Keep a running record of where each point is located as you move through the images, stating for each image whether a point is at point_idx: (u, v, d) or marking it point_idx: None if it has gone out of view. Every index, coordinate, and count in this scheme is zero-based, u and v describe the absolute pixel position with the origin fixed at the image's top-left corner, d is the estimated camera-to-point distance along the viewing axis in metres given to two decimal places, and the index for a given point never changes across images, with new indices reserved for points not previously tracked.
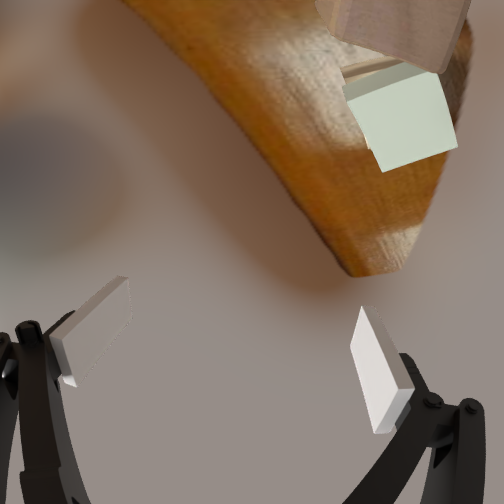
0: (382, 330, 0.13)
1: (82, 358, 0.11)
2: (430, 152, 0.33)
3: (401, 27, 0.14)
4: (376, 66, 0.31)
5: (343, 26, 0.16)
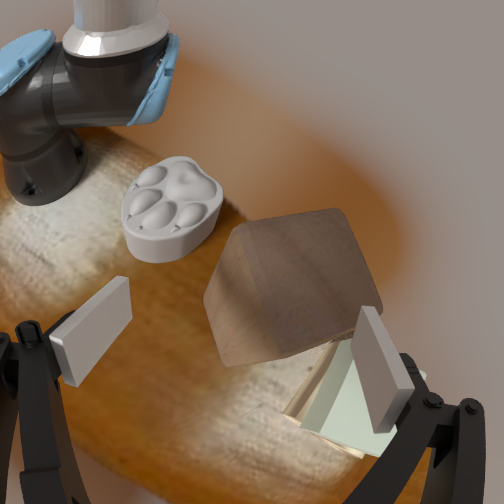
0: (382, 330, 0.13)
1: (82, 358, 0.11)
2: None
3: (327, 297, 0.20)
4: (311, 384, 0.34)
5: (283, 336, 0.18)
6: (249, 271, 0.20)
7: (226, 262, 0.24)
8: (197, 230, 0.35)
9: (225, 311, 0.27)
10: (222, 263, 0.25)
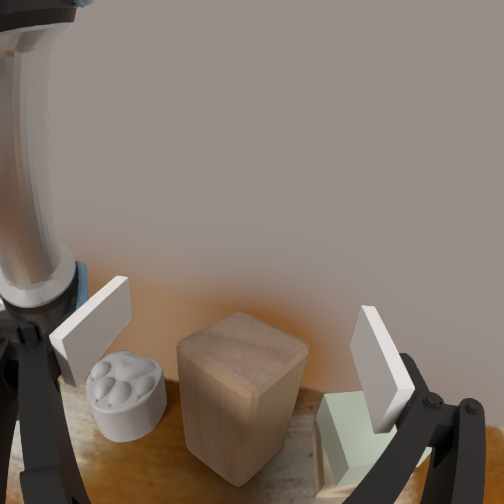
0: (382, 330, 0.13)
1: (82, 358, 0.11)
2: None
3: (261, 352, 0.27)
4: (319, 459, 0.31)
5: (246, 381, 0.23)
6: (200, 360, 0.25)
7: (184, 378, 0.28)
8: (154, 396, 0.36)
9: (205, 424, 0.28)
10: (182, 384, 0.28)
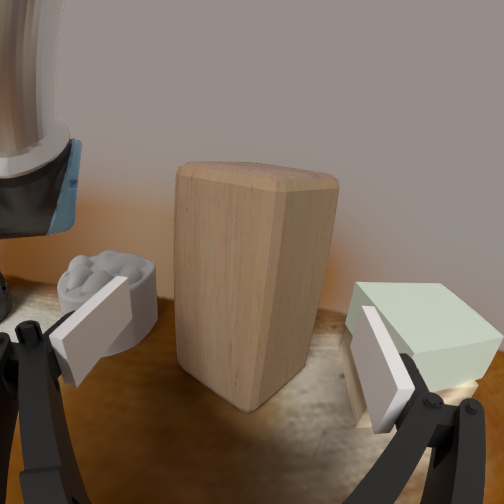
0: (382, 330, 0.13)
1: (82, 358, 0.11)
2: (457, 300, 0.26)
3: (283, 169, 0.22)
4: (356, 371, 0.26)
5: (267, 173, 0.18)
6: (206, 170, 0.20)
7: (182, 216, 0.22)
8: (141, 292, 0.31)
9: (205, 290, 0.22)
10: (178, 229, 0.23)
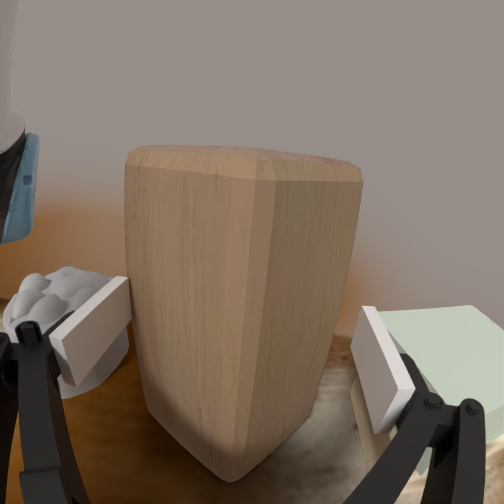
0: (382, 330, 0.13)
1: (82, 358, 0.11)
2: (495, 327, 0.18)
3: None
4: None
5: (243, 149, 0.10)
6: (156, 153, 0.13)
7: (130, 224, 0.15)
8: None
9: (162, 332, 0.15)
10: (128, 243, 0.15)
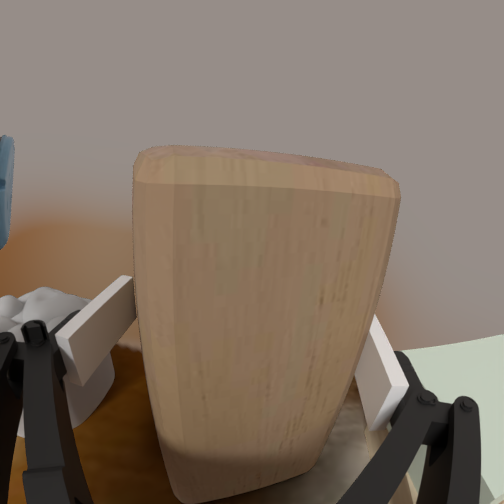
0: (377, 328, 0.13)
1: (87, 357, 0.11)
2: None
3: None
4: None
5: (164, 147, 0.08)
6: (139, 155, 0.12)
7: None
8: None
9: (140, 337, 0.14)
10: None
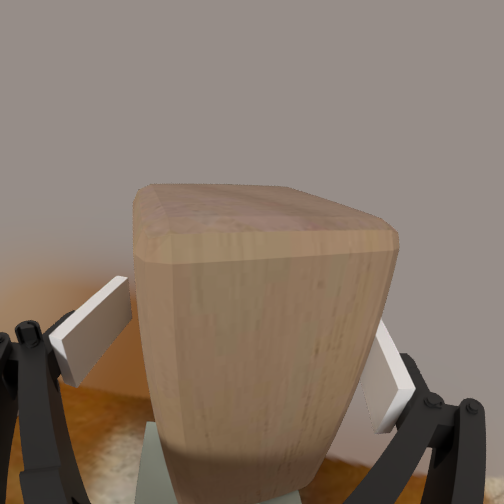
0: (382, 330, 0.13)
1: (82, 358, 0.11)
2: None
3: (267, 204, 0.11)
4: None
5: (160, 216, 0.08)
6: (138, 200, 0.12)
7: None
8: None
9: None
10: None
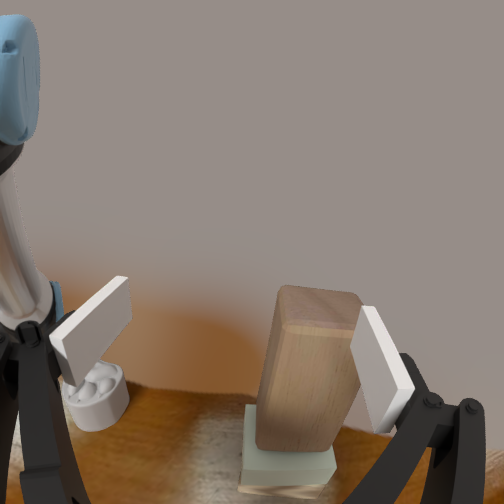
0: (382, 330, 0.13)
1: (82, 358, 0.11)
2: None
3: (331, 313, 0.29)
4: None
5: (292, 317, 0.27)
6: (282, 297, 0.32)
7: (273, 317, 0.35)
8: (115, 394, 0.43)
9: (267, 366, 0.34)
10: (272, 324, 0.36)
